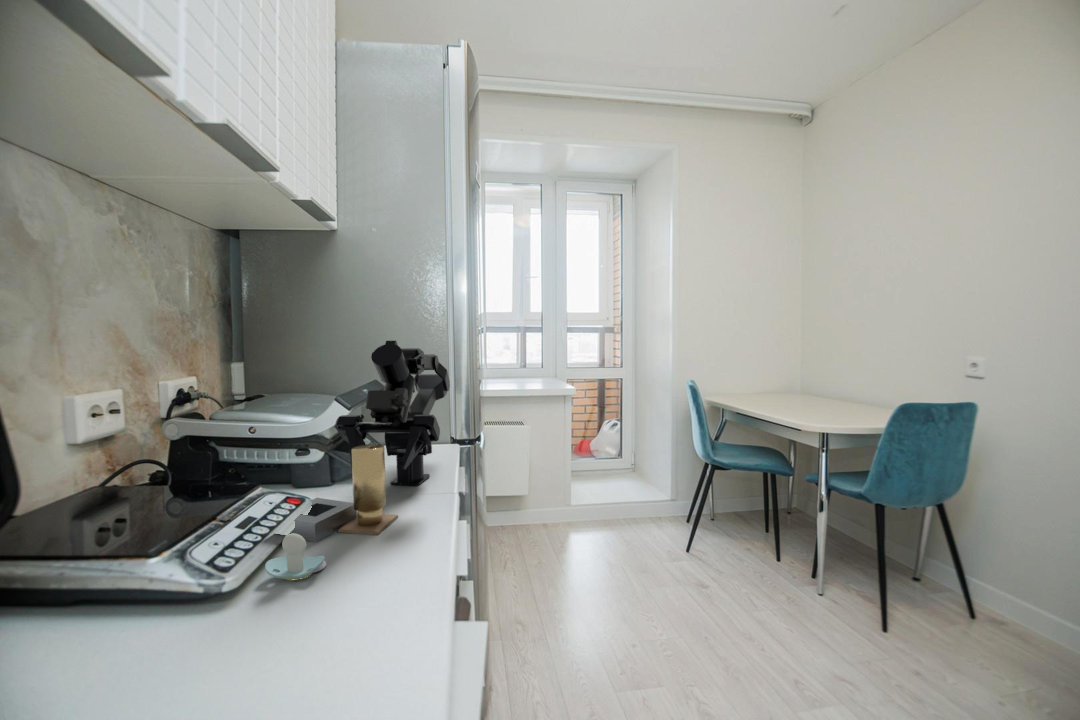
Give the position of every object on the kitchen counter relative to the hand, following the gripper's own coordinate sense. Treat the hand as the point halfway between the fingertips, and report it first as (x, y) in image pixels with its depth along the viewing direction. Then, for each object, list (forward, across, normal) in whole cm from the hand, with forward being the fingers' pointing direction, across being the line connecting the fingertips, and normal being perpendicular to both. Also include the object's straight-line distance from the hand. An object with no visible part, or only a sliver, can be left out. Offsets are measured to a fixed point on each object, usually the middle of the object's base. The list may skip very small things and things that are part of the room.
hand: (378, 468), depth 84 cm
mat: (+9, 0, +2) cm, 10 cm away
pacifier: (+20, -3, -9) cm, 23 cm away
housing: (+10, -9, +2) cm, 13 cm away
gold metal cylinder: (+9, 0, +2) cm, 9 cm away
